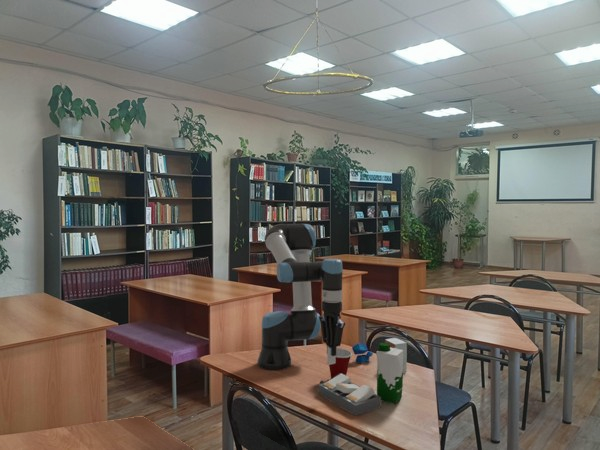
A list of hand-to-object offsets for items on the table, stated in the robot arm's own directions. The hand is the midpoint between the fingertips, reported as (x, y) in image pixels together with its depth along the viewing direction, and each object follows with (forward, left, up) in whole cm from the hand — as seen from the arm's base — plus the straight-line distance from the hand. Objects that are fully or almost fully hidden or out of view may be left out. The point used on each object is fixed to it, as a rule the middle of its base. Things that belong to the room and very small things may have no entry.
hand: (331, 363), depth 157 cm
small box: (-6, +41, -13) cm, 43 cm away
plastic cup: (-11, +13, -13) cm, 21 cm away
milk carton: (+13, +17, -13) cm, 25 cm away
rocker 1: (-1, +4, -9) cm, 10 cm away
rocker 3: (+12, +4, -9) cm, 16 cm away
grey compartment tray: (+3, +4, -13) cm, 13 cm away
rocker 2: (+6, +4, -9) cm, 11 cm away
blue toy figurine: (-22, +36, -13) cm, 44 cm away
